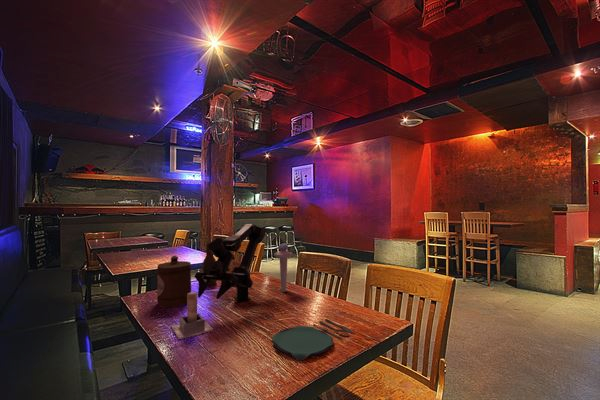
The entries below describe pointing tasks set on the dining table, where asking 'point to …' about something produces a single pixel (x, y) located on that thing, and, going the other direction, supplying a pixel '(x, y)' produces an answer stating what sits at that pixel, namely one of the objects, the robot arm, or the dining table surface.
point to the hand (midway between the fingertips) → (207, 297)
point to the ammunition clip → (235, 265)
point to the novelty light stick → (283, 264)
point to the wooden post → (191, 307)
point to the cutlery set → (306, 340)
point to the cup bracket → (191, 327)
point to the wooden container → (173, 283)
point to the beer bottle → (209, 258)
